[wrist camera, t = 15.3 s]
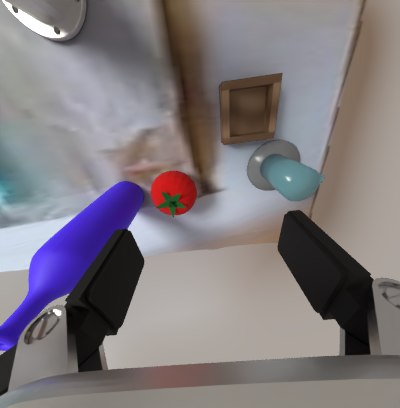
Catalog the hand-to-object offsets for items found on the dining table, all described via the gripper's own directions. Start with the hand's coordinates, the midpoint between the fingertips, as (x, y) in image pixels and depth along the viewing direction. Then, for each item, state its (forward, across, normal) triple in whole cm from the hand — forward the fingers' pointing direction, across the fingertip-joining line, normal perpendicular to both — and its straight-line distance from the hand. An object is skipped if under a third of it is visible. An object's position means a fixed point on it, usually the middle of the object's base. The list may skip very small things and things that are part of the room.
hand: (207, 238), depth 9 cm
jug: (+27, -19, +6) cm, 34 cm away
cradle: (+28, -10, -6) cm, 31 cm away
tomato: (+28, +7, +8) cm, 30 cm away
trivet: (+28, -17, +6) cm, 34 cm away
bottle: (+28, +20, +9) cm, 36 cm away
